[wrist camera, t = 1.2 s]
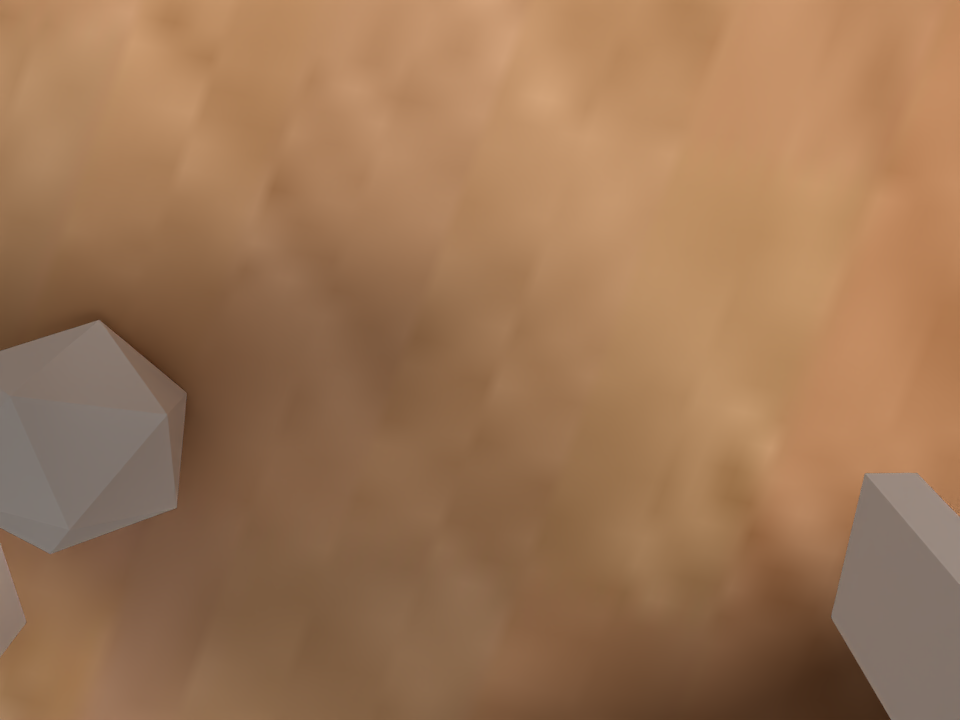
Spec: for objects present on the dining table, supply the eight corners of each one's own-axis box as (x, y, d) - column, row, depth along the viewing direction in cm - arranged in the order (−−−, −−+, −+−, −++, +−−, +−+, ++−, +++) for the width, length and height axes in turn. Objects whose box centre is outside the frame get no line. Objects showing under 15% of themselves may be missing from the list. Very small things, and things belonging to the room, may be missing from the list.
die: (127, 269, 33) (-142, 341, 26) (241, 367, 29) (-45, 481, 22) (145, 412, 37) (-80, 502, 31) (245, 514, 33) (10, 643, 27)
